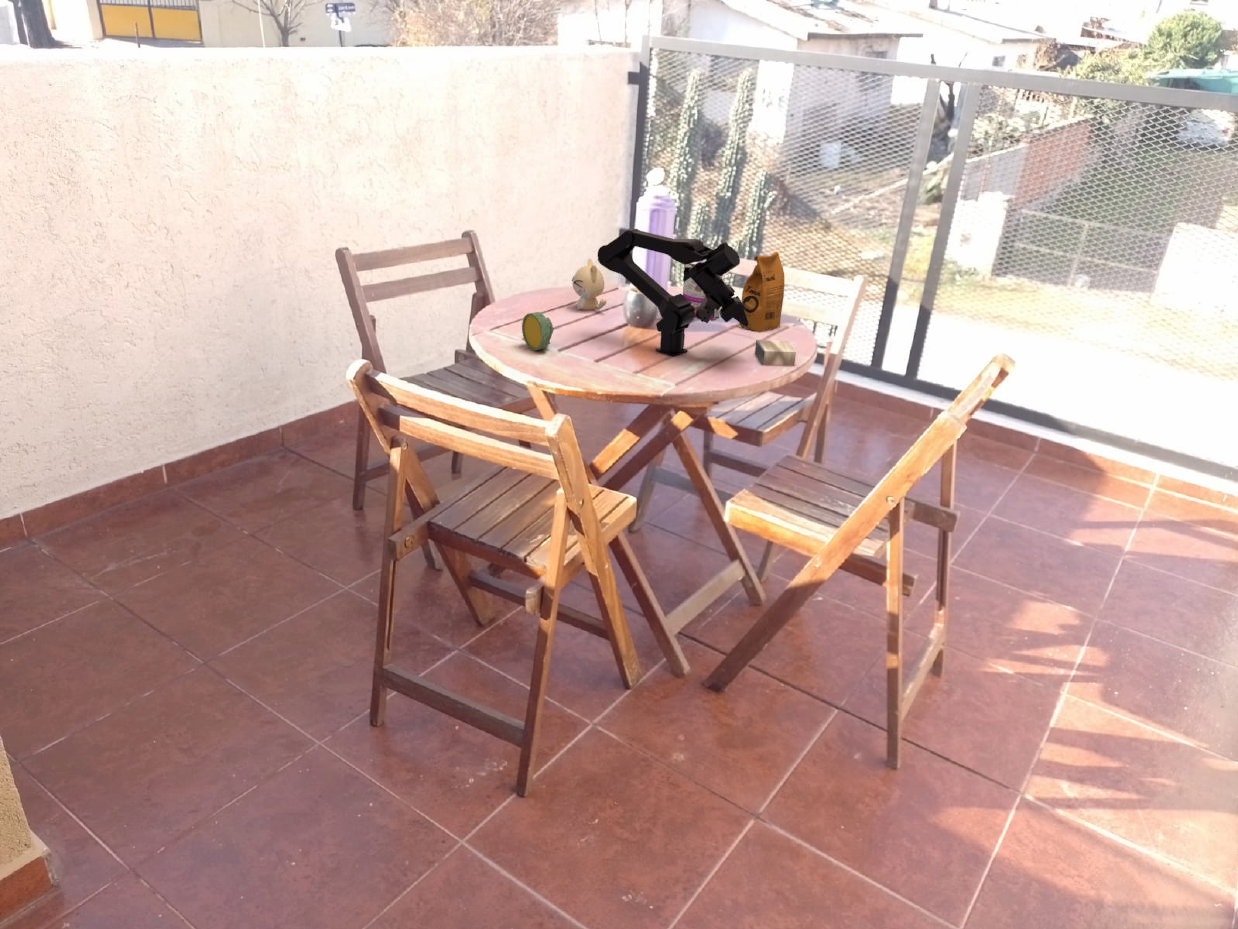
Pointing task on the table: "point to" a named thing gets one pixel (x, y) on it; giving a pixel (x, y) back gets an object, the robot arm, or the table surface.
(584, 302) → the kitten
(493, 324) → the table surface
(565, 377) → the table surface
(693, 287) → the candy bar box
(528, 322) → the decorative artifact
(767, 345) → the marked block
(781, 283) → the coffee package
